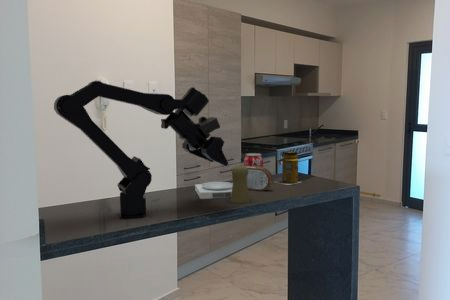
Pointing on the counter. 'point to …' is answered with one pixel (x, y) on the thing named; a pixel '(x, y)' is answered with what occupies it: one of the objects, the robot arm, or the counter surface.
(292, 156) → the condiment
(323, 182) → the counter surface
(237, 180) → the cork
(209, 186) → the scale
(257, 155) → the soda can
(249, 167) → the tin
